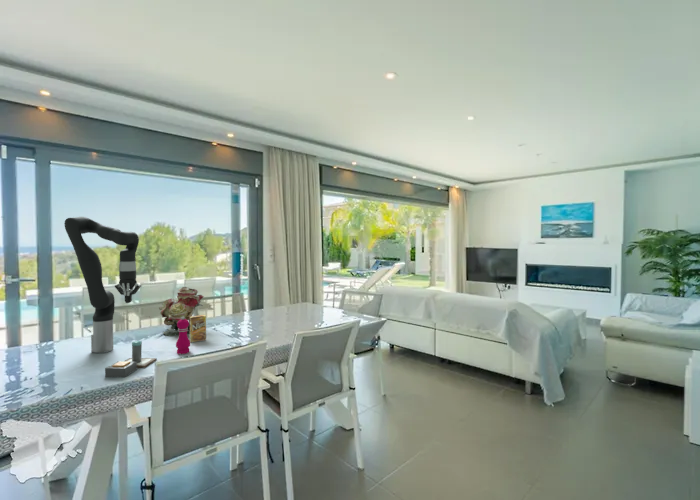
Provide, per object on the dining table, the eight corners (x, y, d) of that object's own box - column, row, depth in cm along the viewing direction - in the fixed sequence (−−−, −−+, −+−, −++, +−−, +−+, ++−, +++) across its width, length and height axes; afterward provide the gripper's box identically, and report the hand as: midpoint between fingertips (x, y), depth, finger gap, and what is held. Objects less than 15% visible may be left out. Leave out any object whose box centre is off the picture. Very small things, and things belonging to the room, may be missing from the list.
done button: (112, 373, 161) (112, 365, 161) (119, 369, 166) (119, 361, 166) (123, 373, 161) (123, 365, 161) (130, 369, 166) (130, 361, 166)
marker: (130, 363, 173) (130, 343, 173) (134, 360, 178) (134, 340, 177) (139, 363, 174) (139, 343, 173) (143, 360, 178) (143, 340, 178)
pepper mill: (176, 355, 189) (175, 318, 188) (175, 351, 196) (175, 315, 195) (190, 353, 192) (190, 317, 192) (189, 349, 199) (189, 314, 198)
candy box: (190, 342, 212) (190, 317, 211) (189, 340, 215) (189, 316, 215) (206, 340, 217) (206, 315, 216) (204, 338, 220) (204, 314, 220)
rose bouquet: (161, 327, 245) (161, 285, 244) (206, 325, 254) (206, 283, 253) (154, 338, 220) (153, 290, 219) (204, 334, 230) (203, 289, 229)
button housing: (105, 377, 159) (105, 368, 159) (117, 369, 168) (117, 361, 168) (125, 377, 159) (125, 368, 159) (136, 369, 168) (136, 361, 168)
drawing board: (115, 367, 170) (115, 365, 170) (129, 360, 181) (129, 357, 181) (144, 368, 170) (144, 365, 170) (156, 360, 181) (156, 358, 181)
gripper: (144, 269, 188) (144, 301, 188) (119, 269, 187) (120, 301, 188) (136, 270, 180) (136, 304, 181) (110, 270, 180) (110, 303, 181)
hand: (128, 302), depth 185 cm, fingers closed
